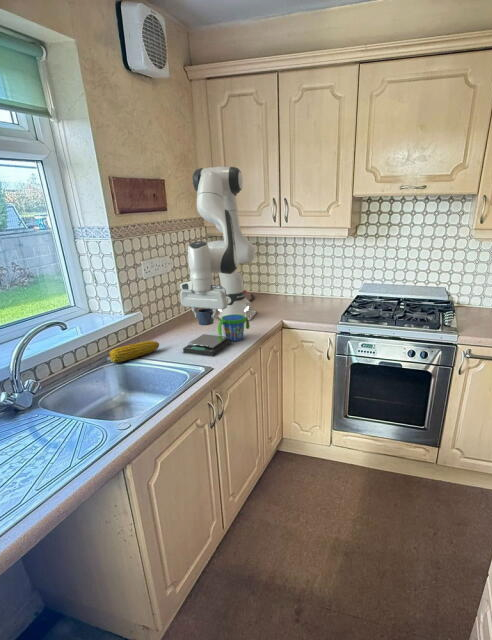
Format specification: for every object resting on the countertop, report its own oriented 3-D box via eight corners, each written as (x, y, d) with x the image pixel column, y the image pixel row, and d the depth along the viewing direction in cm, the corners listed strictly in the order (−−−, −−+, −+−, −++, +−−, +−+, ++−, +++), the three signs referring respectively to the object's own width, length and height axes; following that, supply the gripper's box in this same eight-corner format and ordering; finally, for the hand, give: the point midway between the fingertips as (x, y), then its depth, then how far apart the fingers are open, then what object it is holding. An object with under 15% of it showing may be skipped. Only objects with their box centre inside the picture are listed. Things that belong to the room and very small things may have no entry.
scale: (203, 340, 183) (202, 334, 182) (231, 343, 179) (230, 337, 178) (183, 352, 169) (182, 346, 168) (213, 356, 165) (212, 349, 164)
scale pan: (203, 335, 181) (203, 334, 181) (227, 338, 177) (227, 336, 177) (187, 345, 170) (187, 343, 170) (213, 348, 166) (213, 346, 166)
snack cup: (244, 332, 192) (242, 311, 188) (255, 338, 184) (254, 316, 180) (214, 339, 184) (211, 317, 180) (224, 345, 176) (222, 323, 172)
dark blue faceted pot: (203, 320, 174) (202, 308, 171) (216, 321, 172) (215, 309, 169) (195, 324, 168) (194, 311, 166) (209, 325, 166) (207, 313, 164)
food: (116, 366, 157) (113, 351, 155) (109, 363, 161) (105, 348, 158) (162, 350, 172) (160, 337, 169) (155, 348, 175) (152, 334, 173)
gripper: (228, 284, 163) (231, 318, 169) (184, 281, 169) (188, 314, 175) (221, 287, 157) (224, 322, 163) (176, 284, 164) (180, 318, 170)
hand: (205, 318), depth 169 cm, fingers closed on dark blue faceted pot, 6 cm apart
